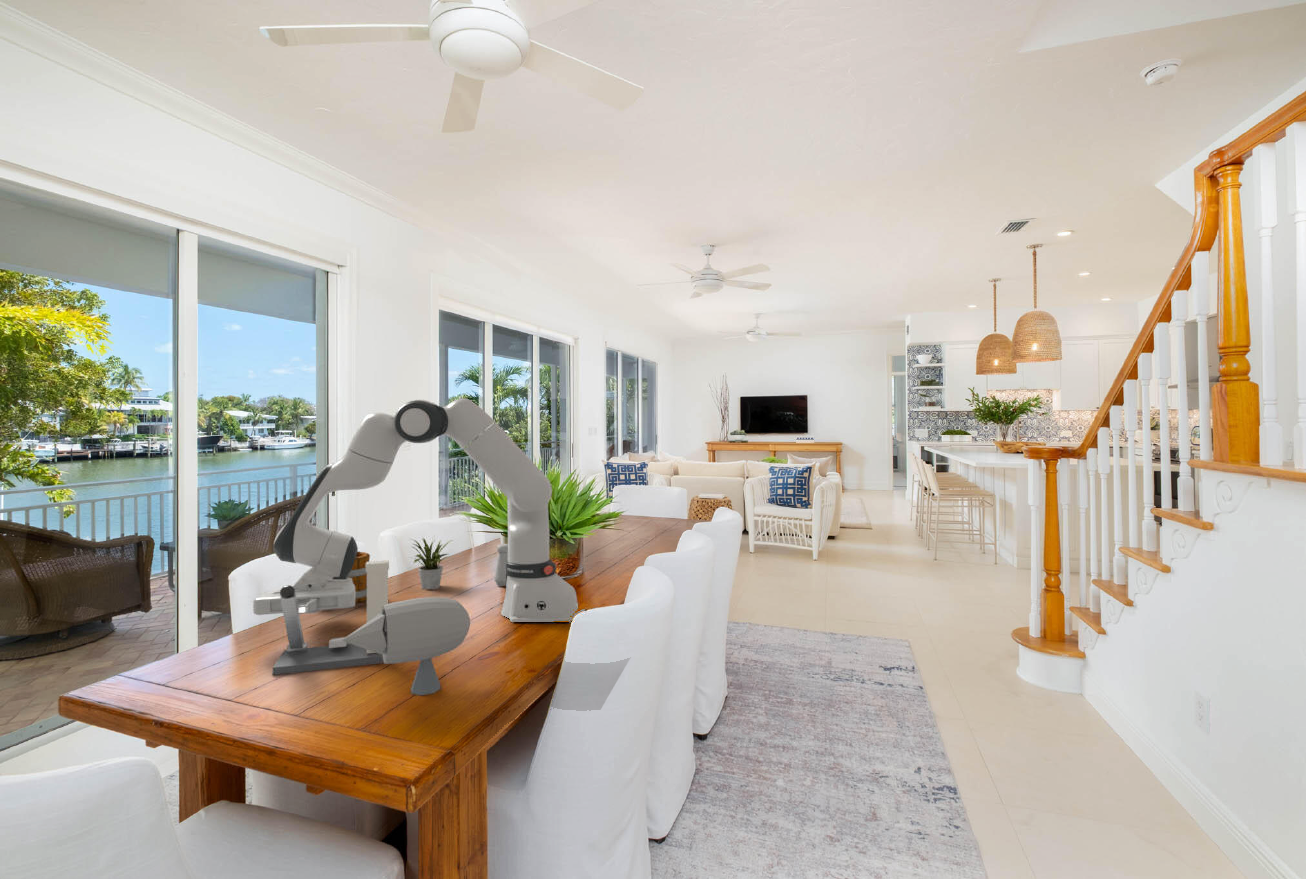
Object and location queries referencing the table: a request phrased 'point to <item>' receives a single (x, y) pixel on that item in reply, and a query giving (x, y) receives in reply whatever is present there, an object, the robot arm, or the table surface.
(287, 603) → the steel toggle lever
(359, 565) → the mug
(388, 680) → the table surface
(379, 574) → the beige rectangular bar
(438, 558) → the house plant
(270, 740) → the table surface
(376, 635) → the jet engine
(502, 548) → the salt shaker
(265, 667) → the table surface
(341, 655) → the console
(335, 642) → the block
